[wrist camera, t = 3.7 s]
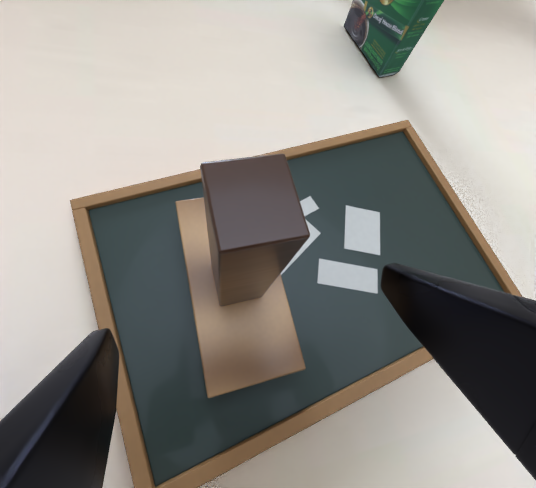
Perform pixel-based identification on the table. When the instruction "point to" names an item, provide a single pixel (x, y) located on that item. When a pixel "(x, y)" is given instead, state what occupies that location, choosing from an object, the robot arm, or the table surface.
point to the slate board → (297, 291)
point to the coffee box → (389, 30)
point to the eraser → (243, 270)
